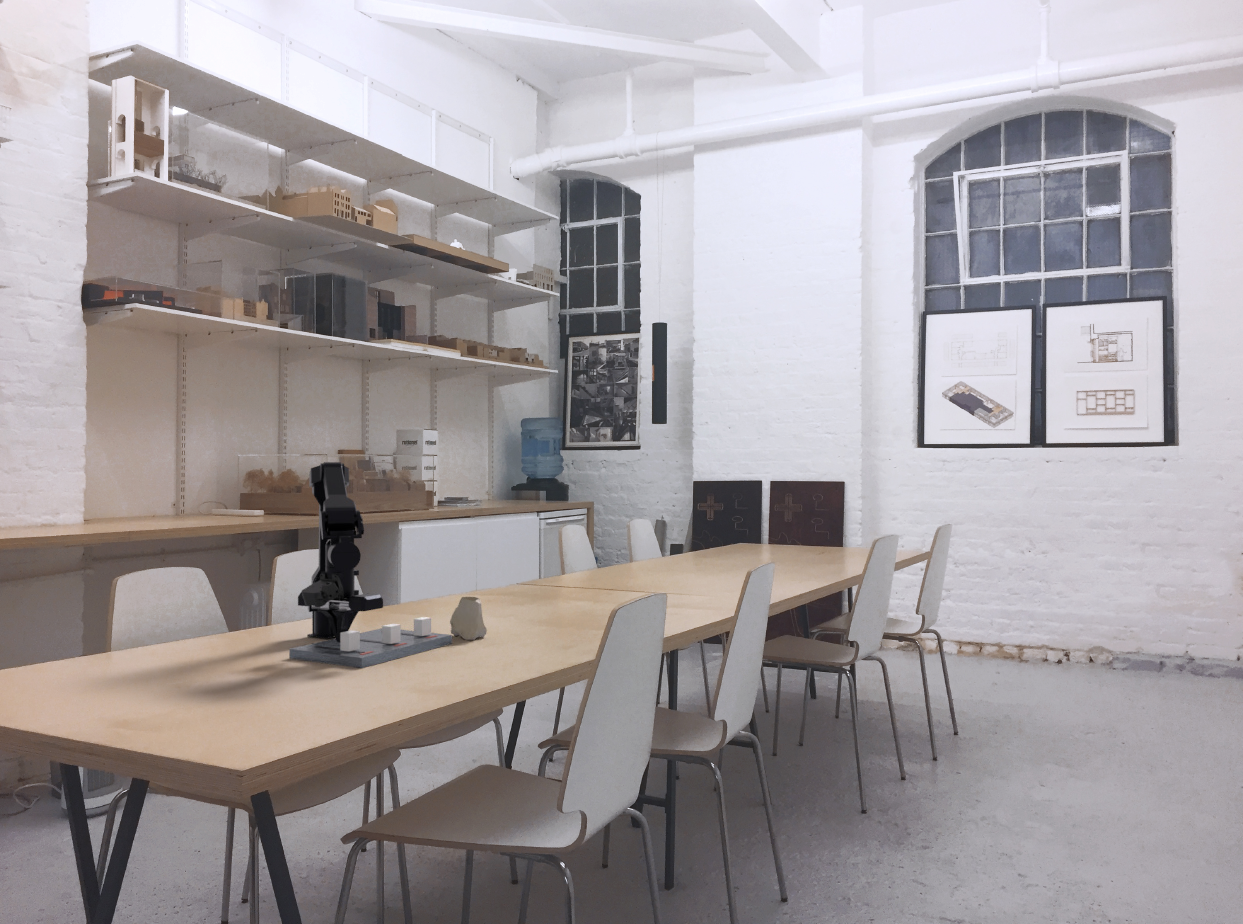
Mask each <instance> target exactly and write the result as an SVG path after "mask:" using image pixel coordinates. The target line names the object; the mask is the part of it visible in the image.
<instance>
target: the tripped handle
mask: <svg viewBox="0 0 1243 924" xmlns="http://www.w3.org/2000/svg"><path fill="white" fill-rule="evenodd" d="M360 633H361V632H360V630H353V629H352V630H349V631H346V632H341V633H340V650H341V651H353V650H357V649H360Z"/></svg>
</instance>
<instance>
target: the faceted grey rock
mask: <svg viewBox="0 0 1243 924" xmlns="http://www.w3.org/2000/svg"><path fill="white" fill-rule="evenodd" d="M458 602H459V603H458V605H457V607H455V609H454V611H453V612H452V615H451V617H450V620H449V624H450V633H451V634H450V635H452V636H454V637H459V636H460V637H461V638H463V640H465V641H471V640H473V641H474V640H476V639H477V638H485V635H487V634H488V632H487V631H488V630H487V627H486V625H485V623H484V618H483V617H484V616H483V609H482V601H481V598H479V597H476V596H462V597H461V598H460V600H459V601H458Z"/></svg>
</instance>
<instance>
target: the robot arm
mask: <svg viewBox="0 0 1243 924" xmlns="http://www.w3.org/2000/svg"><path fill="white" fill-rule="evenodd" d="M308 477H309V478H308V479H309V480H308V481H309V486H308V487H309V488H311V489H312V490H311V492H312V495H313V496H314V498H315V499H316V501H317V503H318V566H317V568H316V569H315V571H314V573H313V574H312V576H311V584H310V585H308V586H307V587H305V588H304V589H302V590H301V592H300V593H299V594H298V595H297V606H298V607H300V606H301V607H307V611H308V613H311V615H312V616H311V617H312V624H311V625H312V629H311V630H312V633H309V634H308V633H307V637H308V638H314V639H315V638H316V639H327V640H329V639H336V641H337V642H339V643H340V633H341V632H346V631H350V628H351V626H352V624H353V623H354V621H355V618H356V617H357V615H358V613H359V612H369V611H373V610H374V611H375V610H378V609H383V608H384V598H383V596H381V594H378V593H362V594H360V590H359V589H356V588H355V586H356V585H355V576H360V570H358V569H355V568H356V567H357V566H359V563H360V561H361V555H362V554H361V551H360V549H359V547H358V546H357V545H356V544H355V539H359V540H360V539H363V538H362V537H363V535H364V533H365V528H364V520H363V516H362V515H361V511H360V509H359V510H357V505H356V503H355V501H354V499H351V498H350V497H348V493H347V487H349V484H350V468H349V467H348V466H346V465H345V463H342V462H337V461H332V462H331V461H330V462H329V461H327V462H326V461H325V462H323V463H320V464H319V465H316V466H314V467H311V468H310V470H309V475H308Z"/></svg>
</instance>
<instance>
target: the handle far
mask: <svg viewBox="0 0 1243 924" xmlns="http://www.w3.org/2000/svg"><path fill="white" fill-rule="evenodd" d="M413 631H414V635H416V636H425V635H429V634H431V633H432V617H426V616H421V617H418V618H414V619H413Z"/></svg>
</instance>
